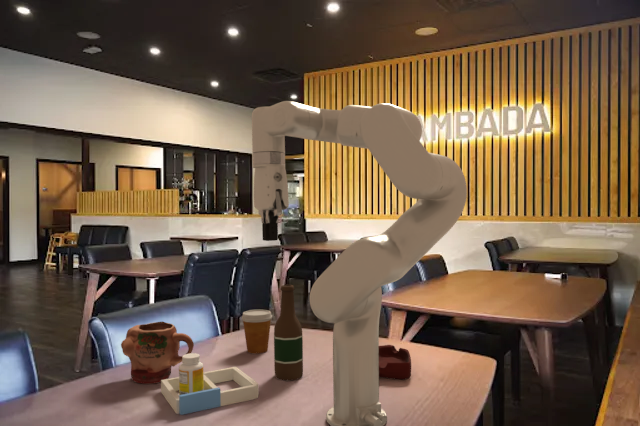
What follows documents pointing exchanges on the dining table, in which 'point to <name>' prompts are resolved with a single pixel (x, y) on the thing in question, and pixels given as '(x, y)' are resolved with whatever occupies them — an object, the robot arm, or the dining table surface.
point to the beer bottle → (288, 339)
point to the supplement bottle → (191, 374)
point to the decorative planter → (153, 350)
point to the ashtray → (394, 363)
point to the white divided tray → (210, 391)
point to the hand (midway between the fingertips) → (270, 240)
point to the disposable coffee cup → (257, 330)
